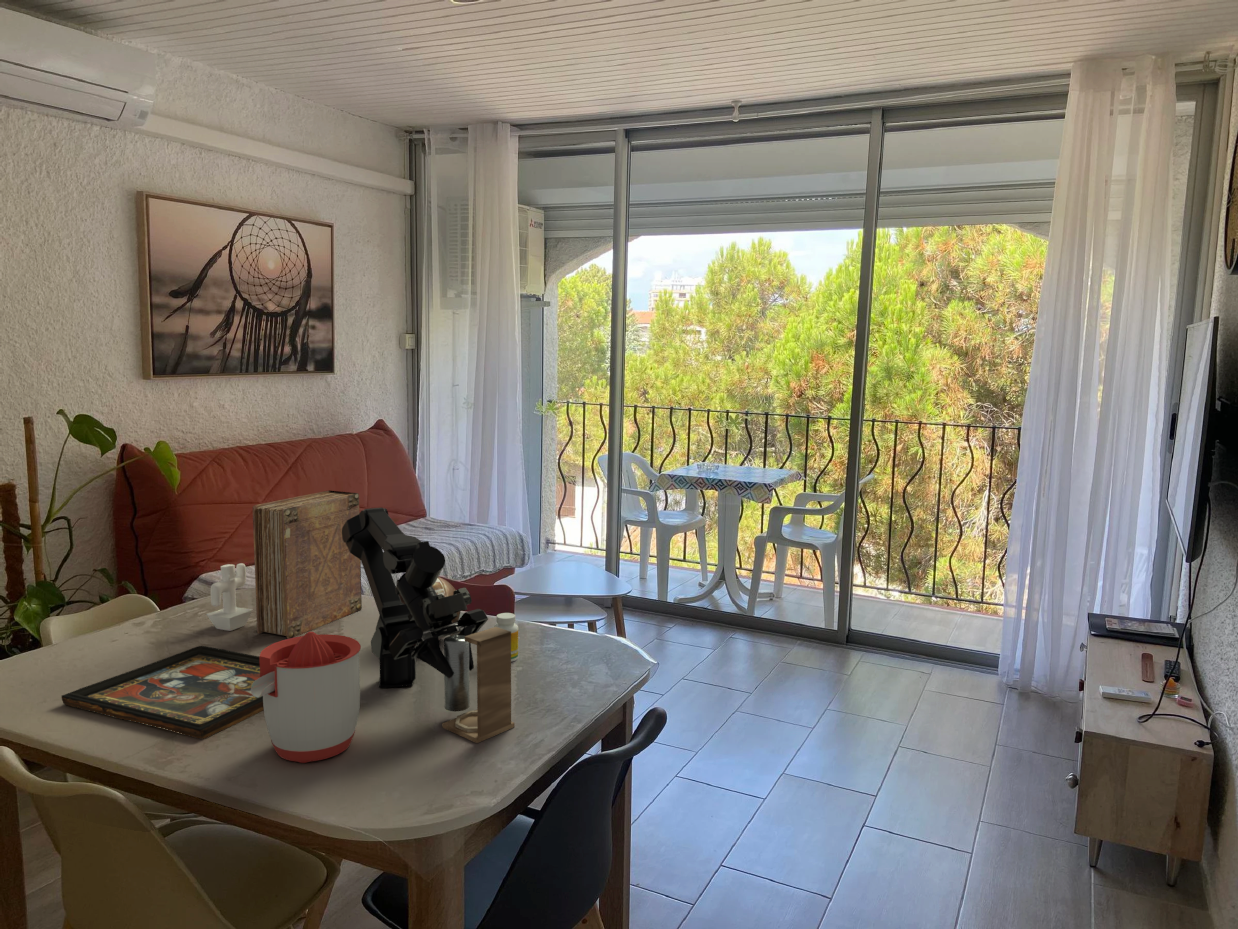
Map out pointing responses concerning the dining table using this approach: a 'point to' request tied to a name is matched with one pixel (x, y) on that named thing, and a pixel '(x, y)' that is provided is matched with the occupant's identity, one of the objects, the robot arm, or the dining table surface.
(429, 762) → the dining table surface
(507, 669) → the ledge stand
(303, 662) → the citrus juicer
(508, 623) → the supplement bottle
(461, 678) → the metal tin
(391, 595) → the robot arm
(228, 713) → the framed icon painting
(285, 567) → the book
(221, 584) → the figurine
